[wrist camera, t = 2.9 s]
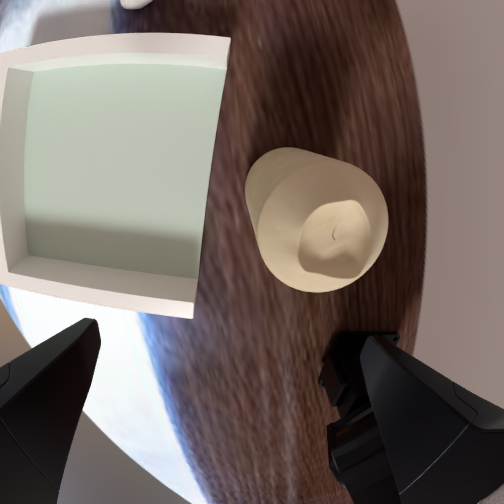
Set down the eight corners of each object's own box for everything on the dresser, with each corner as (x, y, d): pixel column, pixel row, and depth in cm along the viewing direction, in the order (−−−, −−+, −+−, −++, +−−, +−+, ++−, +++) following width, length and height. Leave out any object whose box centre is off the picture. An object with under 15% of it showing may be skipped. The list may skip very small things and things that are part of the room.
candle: (339, 204, 20) (419, 267, 11) (269, 242, 21) (302, 334, 12) (304, 132, 18) (377, 138, 9) (228, 172, 19) (230, 216, 10)
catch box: (230, 53, 16) (230, 37, 13) (196, 291, 22) (192, 318, 19) (27, 59, 14) (0, 53, 10) (22, 264, 20) (0, 284, 17)
